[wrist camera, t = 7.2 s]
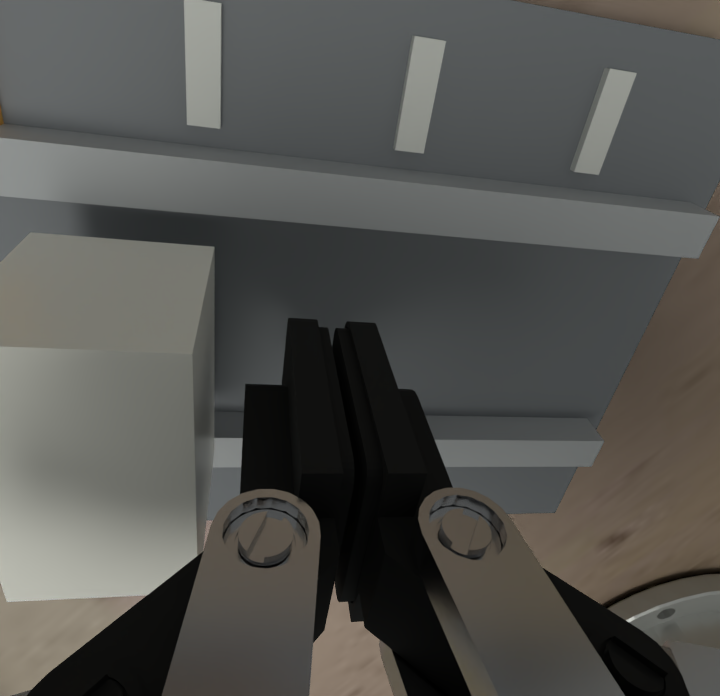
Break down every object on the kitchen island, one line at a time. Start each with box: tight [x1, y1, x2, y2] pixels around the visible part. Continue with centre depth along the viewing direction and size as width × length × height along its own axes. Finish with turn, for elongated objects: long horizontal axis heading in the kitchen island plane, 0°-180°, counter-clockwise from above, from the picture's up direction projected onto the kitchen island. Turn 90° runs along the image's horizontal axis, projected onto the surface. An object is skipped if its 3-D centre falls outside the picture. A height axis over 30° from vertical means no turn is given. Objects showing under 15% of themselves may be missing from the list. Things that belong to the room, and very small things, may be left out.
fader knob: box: [0, 232, 215, 602], centre depth 10 cm, size 3×5×5 cm, turn 172°
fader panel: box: [0, 0, 720, 520], centre depth 13 cm, size 23×14×3 cm, turn 82°
